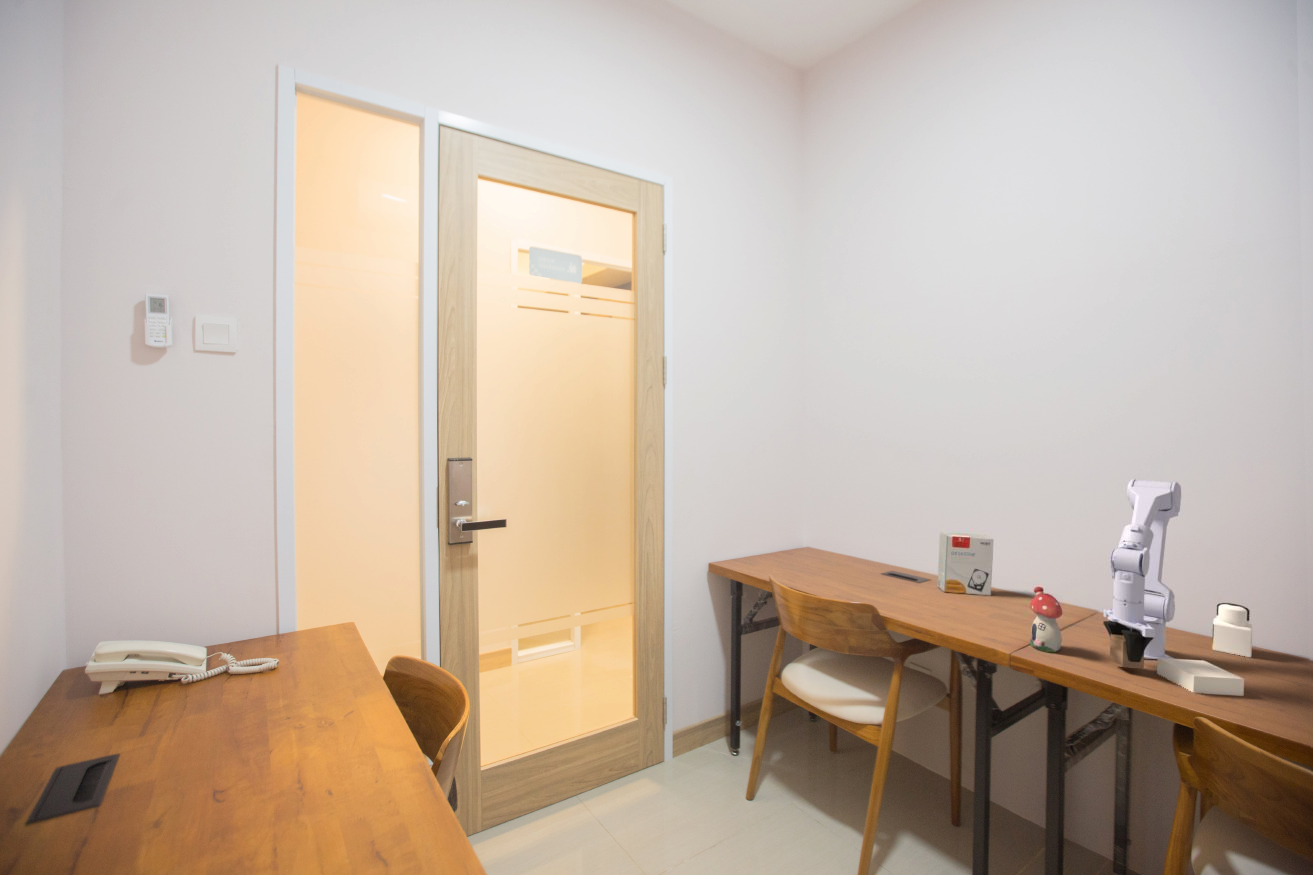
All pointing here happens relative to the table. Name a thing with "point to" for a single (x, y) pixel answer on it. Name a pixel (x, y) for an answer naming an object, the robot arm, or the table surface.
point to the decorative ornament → (1045, 622)
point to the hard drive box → (965, 563)
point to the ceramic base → (1200, 677)
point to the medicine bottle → (1232, 630)
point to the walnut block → (1122, 652)
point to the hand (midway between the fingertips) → (1126, 657)
